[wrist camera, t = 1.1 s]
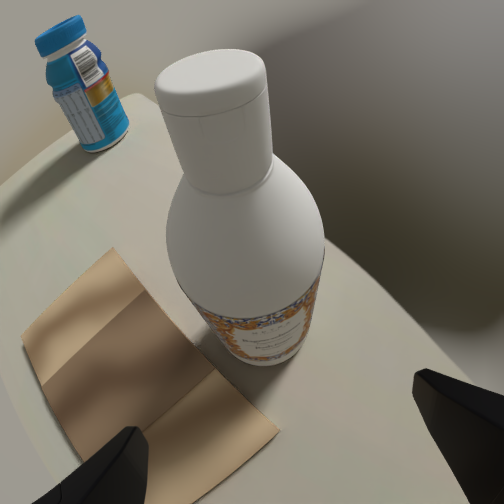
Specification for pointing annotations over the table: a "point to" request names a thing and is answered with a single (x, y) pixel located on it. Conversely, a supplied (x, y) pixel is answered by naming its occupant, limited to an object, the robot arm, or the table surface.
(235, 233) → the bath foam
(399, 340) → the table surface
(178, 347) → the wooden board
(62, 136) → the table surface
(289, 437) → the table surface
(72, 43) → the beverage bottle
